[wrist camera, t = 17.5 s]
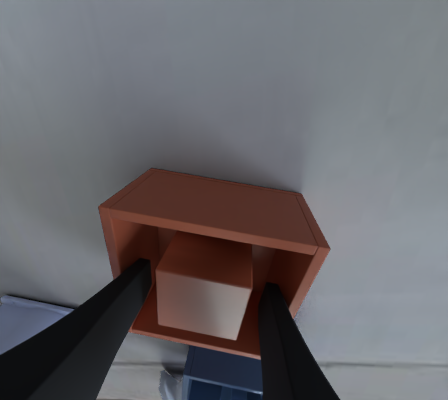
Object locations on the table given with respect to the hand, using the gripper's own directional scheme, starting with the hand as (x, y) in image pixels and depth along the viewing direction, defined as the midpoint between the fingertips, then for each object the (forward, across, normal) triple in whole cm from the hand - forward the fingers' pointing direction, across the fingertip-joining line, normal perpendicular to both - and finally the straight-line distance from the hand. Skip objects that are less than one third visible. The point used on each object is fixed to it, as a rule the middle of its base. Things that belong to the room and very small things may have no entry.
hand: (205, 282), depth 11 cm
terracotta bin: (+4, 0, 0) cm, 4 cm away
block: (+3, 0, 0) cm, 3 cm away
